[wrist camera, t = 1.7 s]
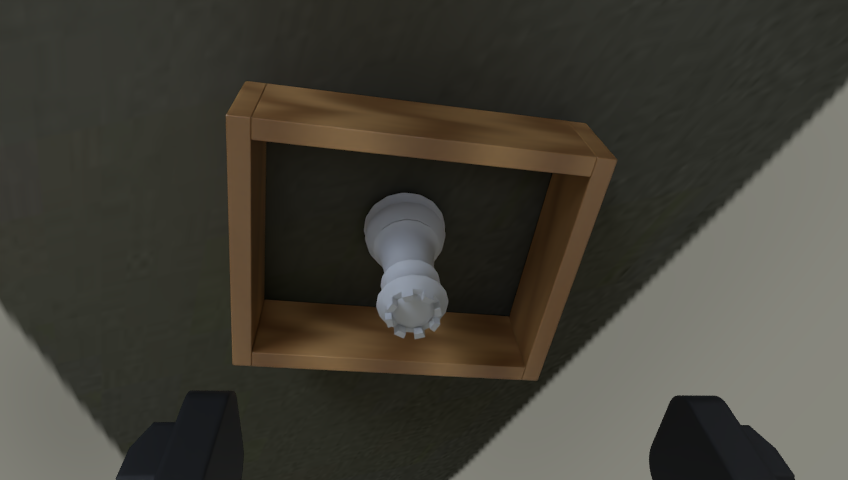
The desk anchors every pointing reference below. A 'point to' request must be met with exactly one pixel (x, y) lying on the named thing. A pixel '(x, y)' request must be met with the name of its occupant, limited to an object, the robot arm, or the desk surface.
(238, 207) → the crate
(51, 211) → the desk surface
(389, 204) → the rook chess piece
